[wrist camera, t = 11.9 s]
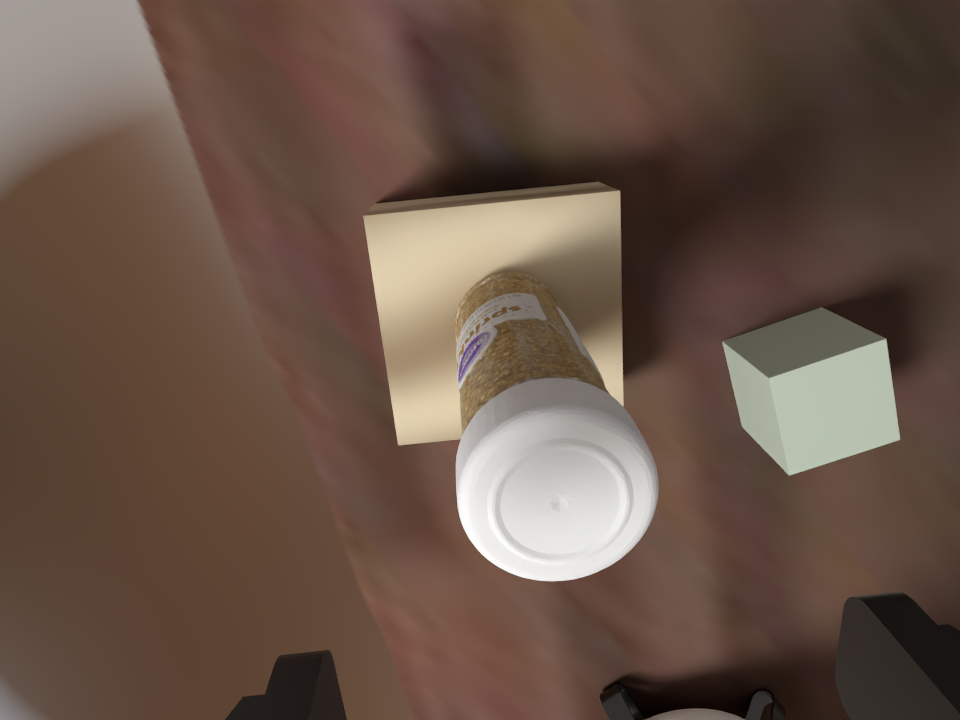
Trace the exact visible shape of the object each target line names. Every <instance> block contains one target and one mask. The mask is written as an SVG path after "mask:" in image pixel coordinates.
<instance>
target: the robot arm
mask: <svg viewBox="0 0 960 720" xmlns="http://www.w3.org/2000/svg"><path fill="white" fill-rule="evenodd" d="M835 681H836V687H837V691H838V694H839V697H840V700H841V703H842V705H843V707H844V709H845V711H846V713H847V715H848V716H849V718H850V720H960V631H959V630H957V629H955V628H954V627H952V626H951V625H949V624H948V625H939V626H938V625H937V624H936V623H935V622H934V621H933V620H932V619H931V618H930V617H929V616H928V615H927V614H926V613H925V612H924V611H923V610H922V609H921V608H920V607H919V606H918V605H917V603H916V602H915V601H914V600H912V599H911V598H910V597H909V596H907V595H906V594H904V593H900V592H895V593H886V594H876V595H866V596H857V597H850V598H848V599H847V600H846V602H845V604H844V608H843V615H842V623H841V630H840V637H839V644H838V651H837V658H836V665H835ZM225 720H347V719H346V715H345V710H344V706H343V702H342V697H341V692H340V688H339V683H338V679H337V674H336V670H335V665H334V661H333V657H332V654H331V652H330V651H328V650H324V651H315V652H305V653H296V654H286V655H280V656H279V657H278V659H277V660H276V662H275V665H274V668H273V671H272V674H271V677H270V680H269V683H268V687H267V690H266V693H265V695H256V696H247V697H242V699H241V700H240V701H239V703H238V704H237V705H236V706H235V708H234V709H233V710H232V711H231V713H230V714H229V715H228V717H227V718H226V719H225Z"/></svg>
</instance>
